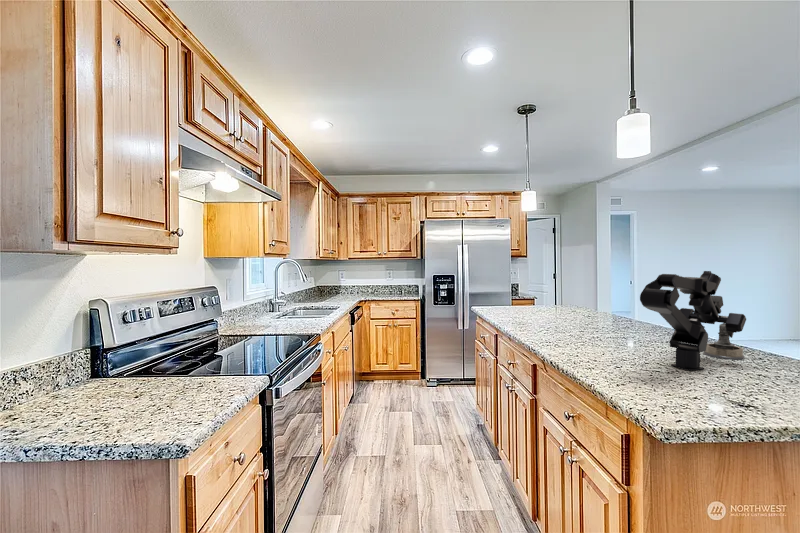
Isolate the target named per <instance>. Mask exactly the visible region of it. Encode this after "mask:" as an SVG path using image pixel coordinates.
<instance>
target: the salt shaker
mask: <svg viewBox="0 0 800 533" xmlns="http://www.w3.org/2000/svg"><path fill="white" fill-rule="evenodd" d="M725 325H726V323H720V324H719V327H718V328H719V332H717V334H718V340H717V341H715V342H713V343H714V344H715V347H716V348H720V349H729V350H732V349H733V346H735V344H733V343H732V342H731V341H730V336H729V335H728V333H727V331H726V330H727V329H726V327H725Z"/></svg>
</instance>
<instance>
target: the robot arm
mask: <svg viewBox="0 0 800 533" xmlns="http://www.w3.org/2000/svg"><path fill="white" fill-rule="evenodd" d="M721 281H722V278H721V277H720V276H719V275H717V274H716V273H713V272H712V271H711V270H703V271H702V274H700V277H695V276H694V277H693V276H682V275H679V274H675V273H674V274H672V273H662V274H659V275H658V276H657V277H656V279H654V280H653V281H651V282H649V283H648V284H646V285H645V287H644V288H643V290H642V291H641V293H640V294H639V301H640V303H641V305H642V306H643V307H644V308H645V309H647V310H650V311H653V312H656V313H658V314H659V315H660V316H661V317H662V318H663V319H664V321H666V322H667V324H669V325H670V326H671V328H672V329H673V330H674V331H673V334H672V336H671V338H670V339H669V347H670V348H675V363H670V366H672V367H676V368H679V369H682V370H685V371H687V372H688V371H690V372H692V371H701V370H703V371H704V370H705V367H703V366H701V353H703V352H704V351H706V347H707V344H708V340H709V334H708V332H707V330H706V329H705V326H704V325H703V324H710V325H715V323H720V324H723V323H726V325H725V327H726V329H727V330H726V331H727V333H728V335H729V338H732V339H733V336H734V333H740V332H742V331H743V330H744V326H745V324H746V321H747V317H746V315H745V314H744V313H736V312H735V313H733V312H729V313H728V316H727V315H721V313H722V307H723V306H724V300H723V296H721V295H716V293H717V290H718V289H719V287H720V286H719V285H720V284H721ZM662 288H663V289H662ZM664 288H672V290H671V289H664ZM680 292H681V293H682V294H684V295H689V297H688V298H689V301H688V306H690V307H693V308H685V307H681V308H680V309H679V307H677V305H676V303H677V301H678V299H679V298H680Z"/></svg>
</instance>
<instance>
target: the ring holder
mask: <svg viewBox="0 0 800 533" xmlns="http://www.w3.org/2000/svg"><path fill="white" fill-rule="evenodd" d="M702 354H703V355H706V356H707V355H708V357H711V358H715V357H716V359H721V358H723V359H722V360H729V359H732V360H731V361H741V360H742V359H743V360H744V359H745V355H744V348H742V347H739V346H737V345H736V346H735V345H734V346H733V349H732V350H729V349H720V348H716V347H715V344H714V342H713V343H712V342H711V343H707V347H706V351H703V352H702Z"/></svg>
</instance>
